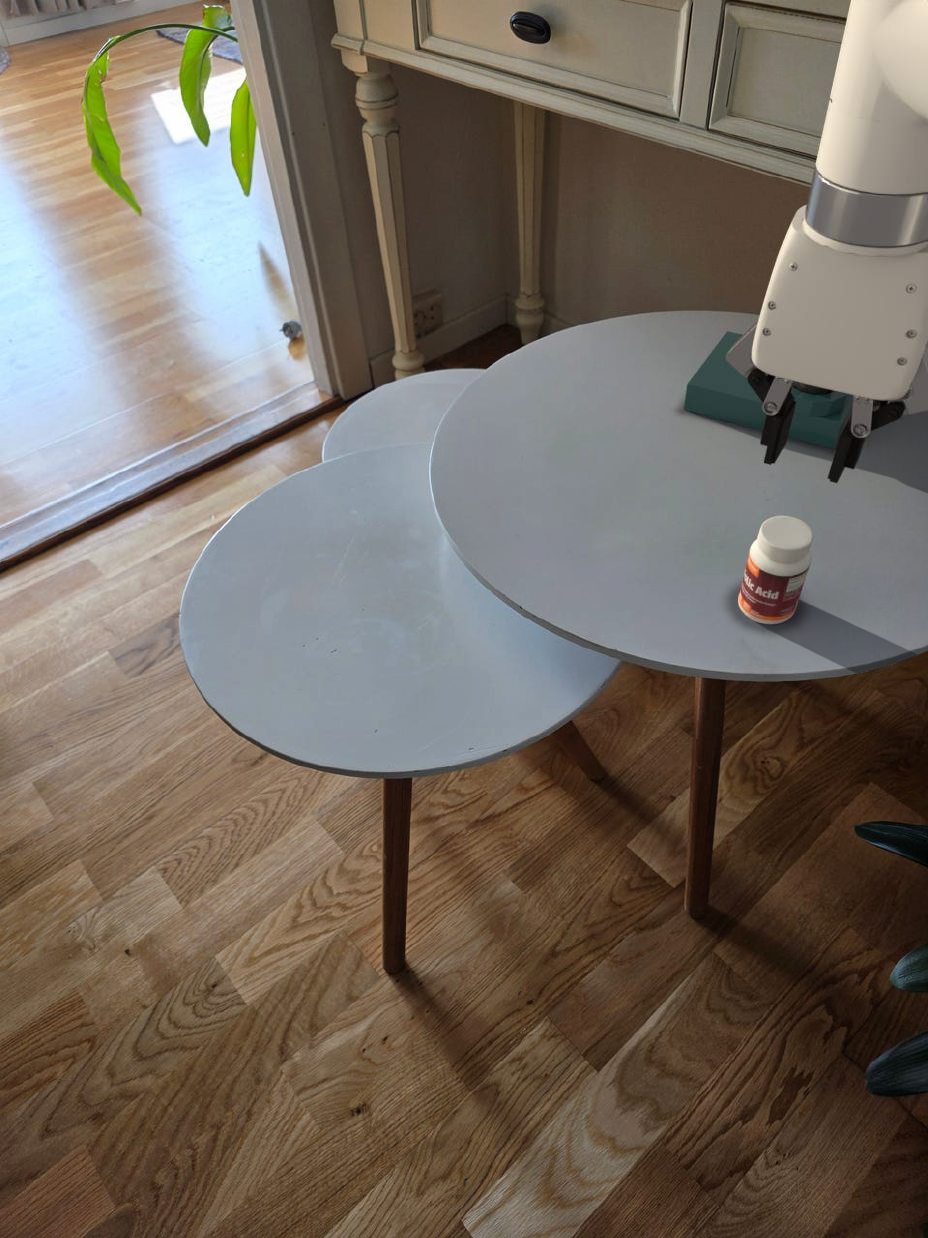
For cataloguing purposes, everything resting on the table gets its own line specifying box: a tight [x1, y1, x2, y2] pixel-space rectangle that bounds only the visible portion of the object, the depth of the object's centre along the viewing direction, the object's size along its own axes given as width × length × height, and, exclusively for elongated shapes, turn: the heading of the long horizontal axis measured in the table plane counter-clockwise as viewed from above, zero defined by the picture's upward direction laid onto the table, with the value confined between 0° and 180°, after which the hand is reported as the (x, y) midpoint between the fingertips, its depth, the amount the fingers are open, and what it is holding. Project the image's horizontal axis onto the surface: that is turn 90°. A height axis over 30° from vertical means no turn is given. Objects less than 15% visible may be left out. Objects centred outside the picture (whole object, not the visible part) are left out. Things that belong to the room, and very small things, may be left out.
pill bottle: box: [737, 515, 814, 625], centre depth 71 cm, size 5×5×8 cm
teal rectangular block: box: [683, 330, 854, 450], centre depth 92 cm, size 16×12×5 cm
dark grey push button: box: [794, 382, 833, 395], centre depth 87 cm, size 4×4×2 cm
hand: (806, 460), depth 63 cm, fingers open, 3 cm apart
